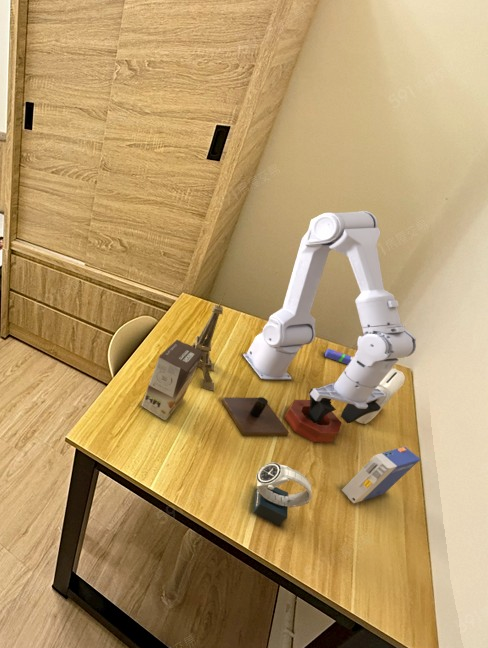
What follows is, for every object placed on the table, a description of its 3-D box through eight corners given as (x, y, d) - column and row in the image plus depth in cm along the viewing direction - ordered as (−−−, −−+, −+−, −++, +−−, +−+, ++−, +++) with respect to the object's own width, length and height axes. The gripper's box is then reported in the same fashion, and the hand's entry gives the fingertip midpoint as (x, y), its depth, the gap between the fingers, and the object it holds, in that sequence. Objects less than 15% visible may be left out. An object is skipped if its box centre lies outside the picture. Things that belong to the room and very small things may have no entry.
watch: (244, 484, 80) (267, 451, 74) (291, 506, 77) (319, 473, 71) (241, 507, 76) (265, 474, 70) (291, 532, 73) (320, 499, 67)
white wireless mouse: (361, 396, 100) (390, 360, 93) (382, 408, 97) (414, 372, 90) (343, 414, 95) (373, 378, 88) (365, 427, 92) (397, 390, 85)
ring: (277, 409, 96) (283, 399, 94) (314, 409, 96) (321, 399, 95) (302, 442, 89) (309, 432, 87) (342, 442, 89) (351, 432, 87)
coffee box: (165, 422, 92) (186, 372, 83) (140, 406, 96) (157, 356, 87) (182, 400, 98) (204, 351, 89) (158, 386, 102) (176, 338, 92)
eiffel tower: (171, 352, 112) (200, 276, 98) (213, 364, 108) (249, 287, 94) (168, 377, 104) (199, 299, 90) (213, 391, 101) (252, 311, 86)
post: (221, 400, 98) (230, 383, 95) (261, 401, 98) (271, 384, 95) (242, 435, 90) (253, 418, 86) (286, 435, 90) (299, 418, 87)
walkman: (369, 481, 81) (405, 445, 75) (383, 494, 79) (422, 458, 72) (339, 490, 80) (373, 453, 73) (353, 503, 77) (389, 467, 71)
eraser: (351, 366, 109) (355, 361, 108) (324, 357, 112) (328, 351, 111) (350, 362, 110) (354, 356, 109) (324, 353, 113) (328, 348, 112)
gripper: (340, 391, 80) (309, 434, 88) (411, 392, 81) (374, 434, 88) (316, 366, 86) (288, 408, 94) (383, 367, 86) (349, 409, 94)
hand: (328, 419), depth 91 cm, fingers open, 7 cm apart
